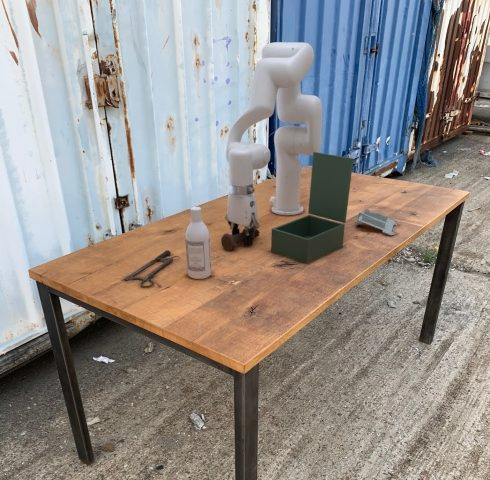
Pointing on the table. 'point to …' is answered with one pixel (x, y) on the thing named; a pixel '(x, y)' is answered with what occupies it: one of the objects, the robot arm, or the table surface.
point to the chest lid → (330, 186)
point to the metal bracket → (376, 221)
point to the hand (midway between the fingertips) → (242, 242)
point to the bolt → (235, 239)
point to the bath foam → (198, 246)
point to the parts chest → (307, 238)
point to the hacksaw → (154, 270)
